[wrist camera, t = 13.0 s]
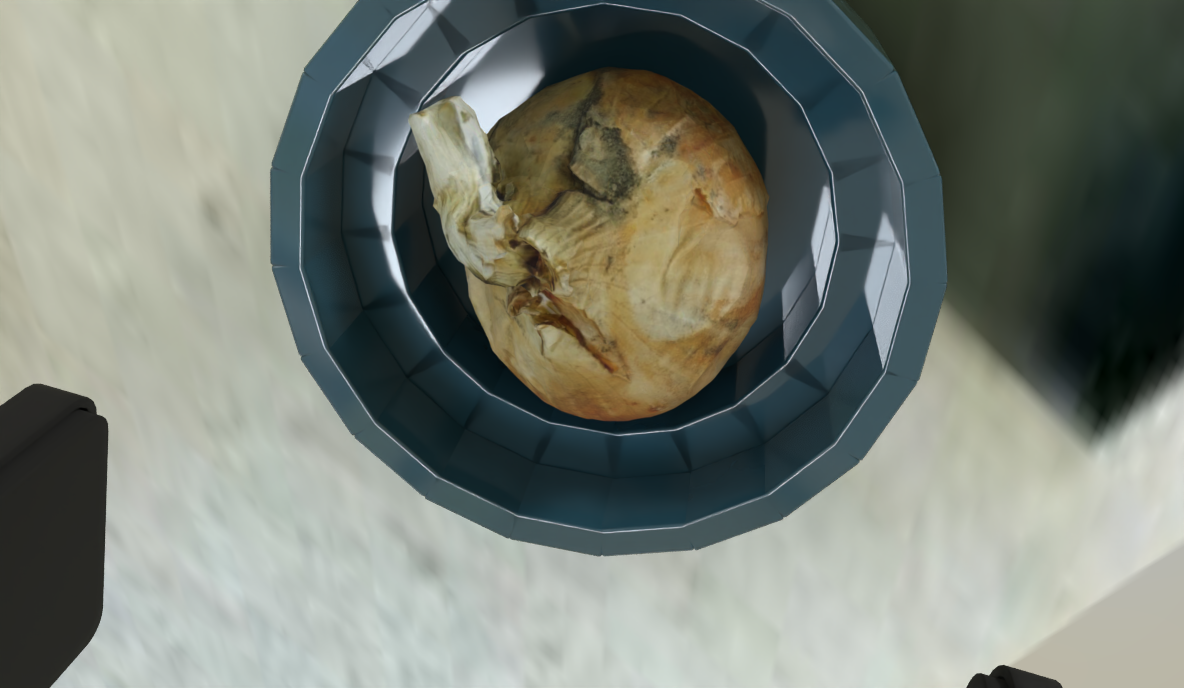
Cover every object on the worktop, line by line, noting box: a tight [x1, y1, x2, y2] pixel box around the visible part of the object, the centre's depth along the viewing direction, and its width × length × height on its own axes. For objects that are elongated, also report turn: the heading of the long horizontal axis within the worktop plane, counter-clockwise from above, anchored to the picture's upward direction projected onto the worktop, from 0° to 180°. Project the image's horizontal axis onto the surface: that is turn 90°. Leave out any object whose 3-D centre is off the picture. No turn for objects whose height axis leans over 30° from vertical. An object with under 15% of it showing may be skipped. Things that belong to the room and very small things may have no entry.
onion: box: [408, 67, 769, 421], centre depth 24 cm, size 8×8×8 cm
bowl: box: [270, 0, 948, 556], centre depth 26 cm, size 15×15×6 cm
